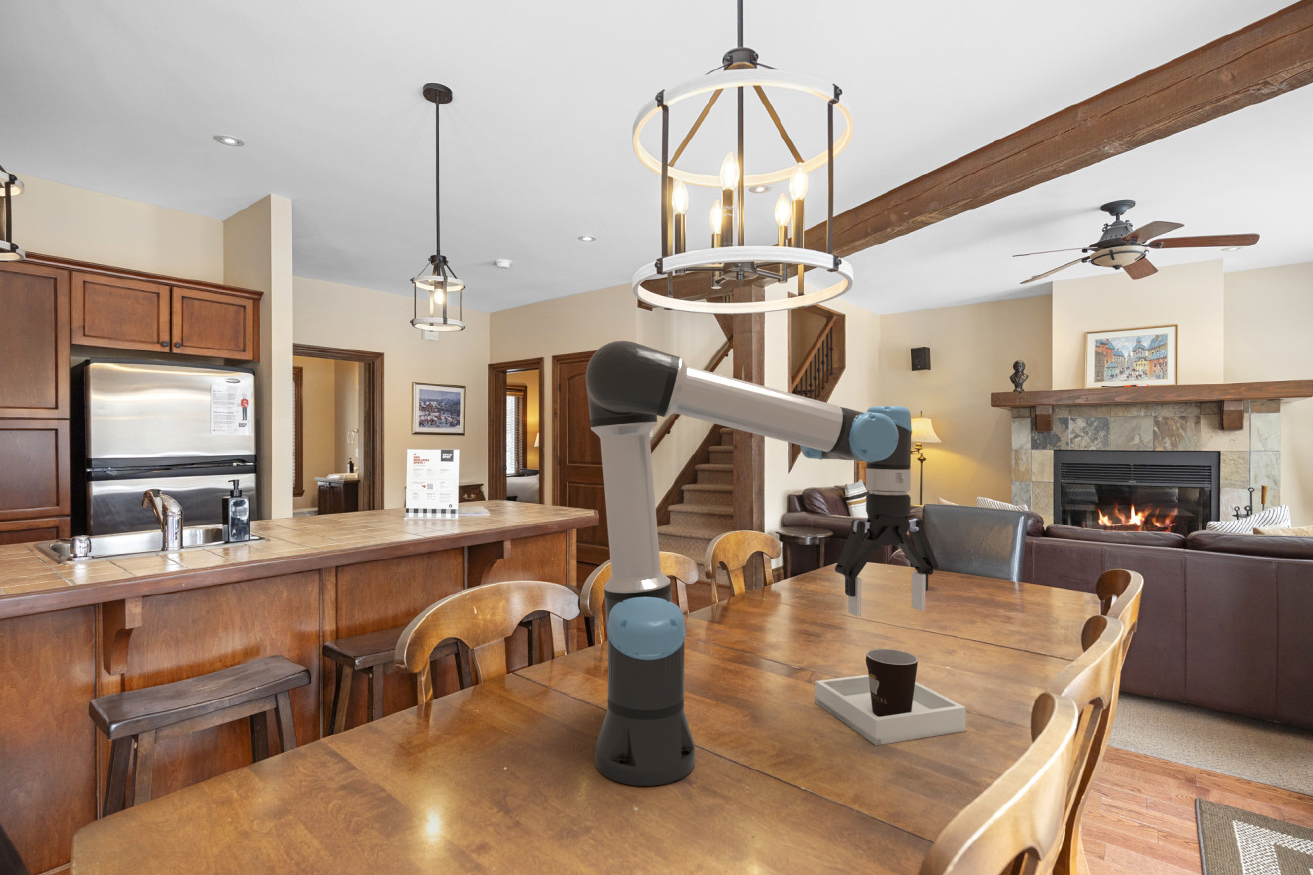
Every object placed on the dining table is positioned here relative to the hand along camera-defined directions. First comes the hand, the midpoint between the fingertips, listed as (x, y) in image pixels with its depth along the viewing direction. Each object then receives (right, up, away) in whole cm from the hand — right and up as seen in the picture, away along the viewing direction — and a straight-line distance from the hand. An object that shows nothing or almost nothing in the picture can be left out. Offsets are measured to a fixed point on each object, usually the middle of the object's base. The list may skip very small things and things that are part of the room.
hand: (887, 611), depth 115 cm
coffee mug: (+1, -18, 0) cm, 18 cm away
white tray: (0, -19, 0) cm, 19 cm away
